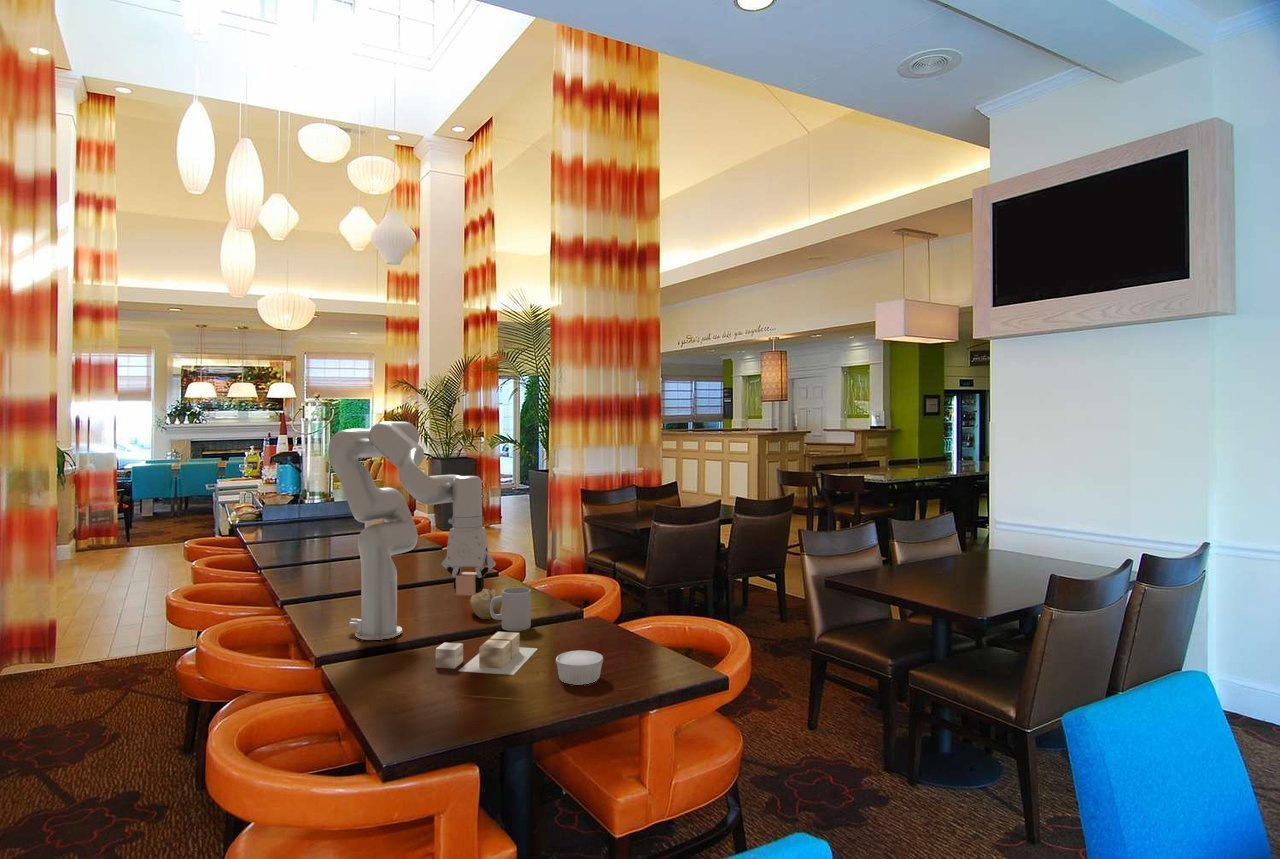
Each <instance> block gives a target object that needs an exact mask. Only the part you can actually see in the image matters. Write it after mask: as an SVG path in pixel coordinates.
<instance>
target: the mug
mask: <svg viewBox="0 0 1280 859" xmlns="http://www.w3.org/2000/svg"><path fill="white" fill-rule="evenodd" d="M531 595H532V591H531V589H530V588H528V587H523V586H522V587H521V586H518V587H517V586H515V587H507V588H504V589H503V590H502V592H501V595H500V596H497V597H494V598H493V599H492V600H491V603H490V614H491V617H492V619H493V620H497V621H498V620H499V621H501V629H502V630H503V631H505V632H523V631H527V630H528V629H530V628H531V627H532V626H531V625H532V623H531V622H532V621H531V620H532V619H531V617H532V616H531V611H532V610H531V608H532V604H531V602H532V596H531ZM495 602H502V606H501V613H498V614H495V613H494V612H493V605H494V603H495Z"/></svg>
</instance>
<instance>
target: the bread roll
mask: <svg viewBox="0 0 1280 859" xmlns="http://www.w3.org/2000/svg"><path fill="white" fill-rule="evenodd" d="M497 596H501V595H500V593H499V592H498V591H497V590H496V589H494V588H489V589H488V588H483V589H482V591H481V592H480V593H477V594H476V595H471V597H470V600H469V603H470V607H471V609H472V610H473V613H474V614H475V615H476V616H477V617H478V618H479V619H481V620H484V619H489V620H491V618H492V617H491V614H490V603H491V600H492V599H493V598H494V597H497ZM501 610H502V602H495V603H494V605H493V612H494V613H495V614H500V612H501ZM492 619H493V618H492Z"/></svg>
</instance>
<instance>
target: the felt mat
mask: <svg viewBox="0 0 1280 859" xmlns="http://www.w3.org/2000/svg"><path fill="white" fill-rule="evenodd" d="M538 649H539V648H535V647H524V646H523V647H521V646H519V653H518V654H517V655H516V656H515V657H514V658H513V659H511V661H510V662H509V663H508V664H507V665H506V666H505V667H504V668H503V669H501V668H485V667H479V653H477V655H475V656H474V657H473V658H471V659H470V660H469V661H467V663H466V664H464V665H463V666H462V667H460V668H459V669H458V672H466V673H478V674H479V673H480V674H495V675H509V676H514V675H515V674H516V673H517V671H519V669H521V667H522V666H523V665H524V664H525V663H526V662H527V661H528V660H529V659H530V658H531V657H532V656H533V655H534V653H535V652H536V651H538Z"/></svg>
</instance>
